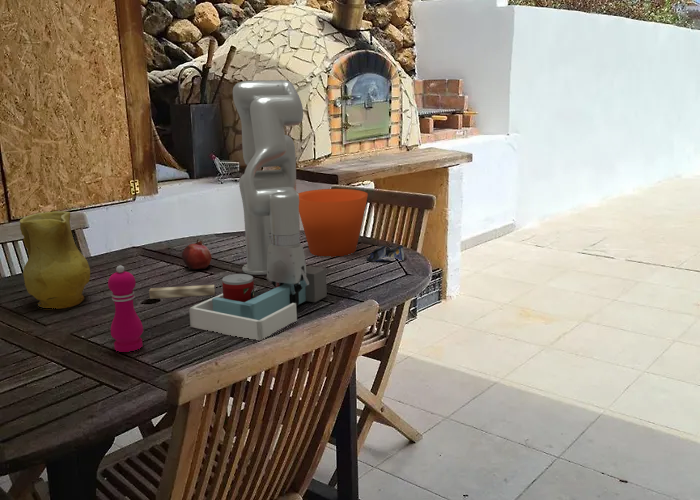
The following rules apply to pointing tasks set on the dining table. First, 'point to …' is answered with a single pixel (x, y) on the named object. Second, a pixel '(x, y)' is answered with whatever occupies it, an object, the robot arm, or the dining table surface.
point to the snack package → (386, 253)
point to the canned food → (238, 287)
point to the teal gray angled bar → (275, 297)
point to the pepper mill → (124, 312)
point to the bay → (240, 321)
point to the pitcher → (53, 260)
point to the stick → (182, 291)
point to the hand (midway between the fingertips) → (288, 305)
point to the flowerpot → (332, 220)
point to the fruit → (196, 256)
